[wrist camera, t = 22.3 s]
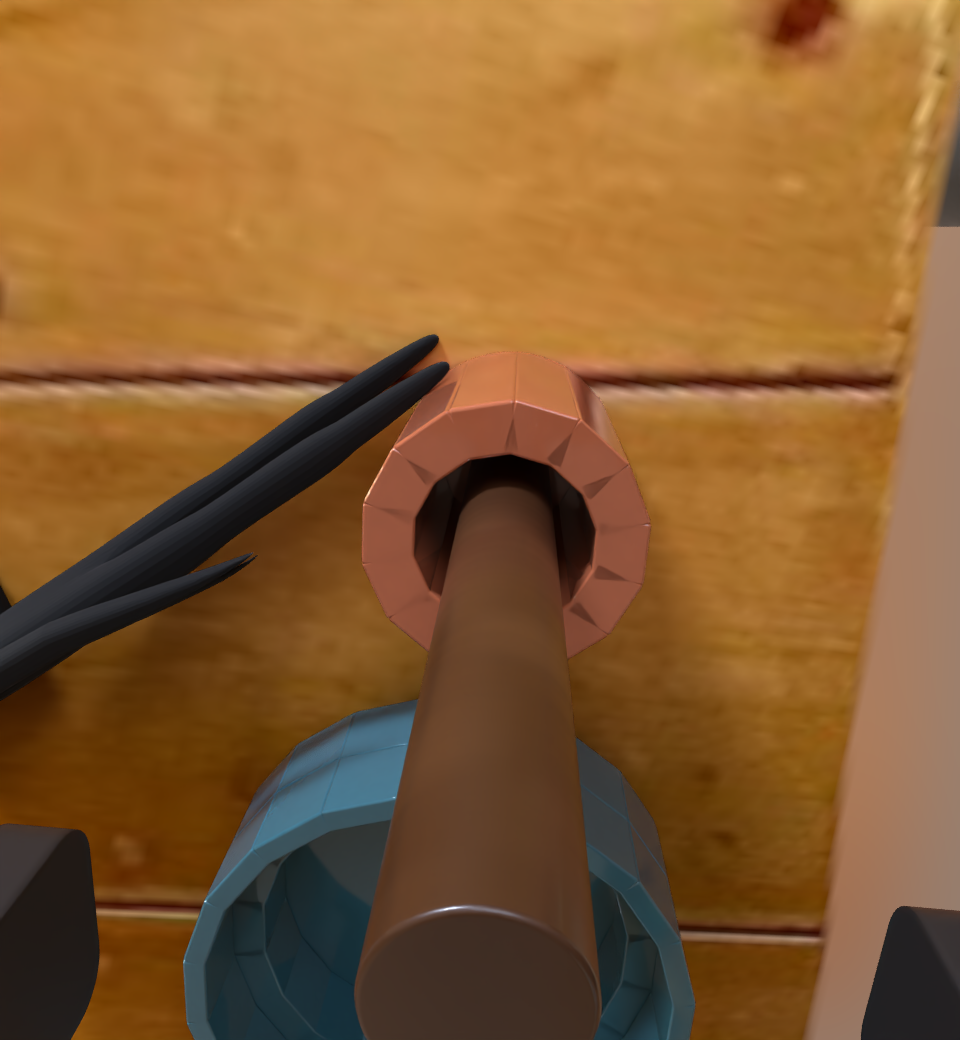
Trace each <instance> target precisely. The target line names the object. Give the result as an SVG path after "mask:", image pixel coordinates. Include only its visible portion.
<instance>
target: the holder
mask: <svg viewBox="0 0 960 1040" xmlns="http://www.w3.org/2000/svg"><path fill="white" fill-rule="evenodd" d="M504 455H514V456H517V457H520V458H524V459H527V460H530V461H534V462H537V463H541V464H544V465H547V466H548V468H549V478H550V488H551V498H552V508H553V518H554V528H555V538H556V548H557V558H558V568H559V578H560V588H561V598H562V608H563V618H564V628H565V638H566V648H567V658H568V659H570V658H571V657H573V656H575V655H576V654H578V653H580V652H581V651H583V650H585V649H586V648H588V647H590V646H591V645H593V644H595V643H597V642H598V641H600V640H602V639H603V638H605V637H606V636H607V635H608V634H610V633H611V632H612V630H613V629H614V627H615V626H616V625H617V623H618V622H619V620H620V619H621V617H622V616H623V614H624V613H625V611H626V610H627V608H628V607H629V605H630V604H631V602H632V601H633V600H634V598H635V597H636V595H637V594H638V592H639V591H640V589H641V588H642V584H643V583H644V578H645V570H646V562H647V555H648V547H649V539H650V532H651V524H650V518H649V515H648V512H647V509H646V507H645V504H644V501H643V498H642V496H641V493H640V490H639V488H638V485H637V482H636V479H635V477H634V474H633V471H632V468H631V466H630V464H629V461H628V459H627V457H626V455H625V452H624V450H623V448H622V446H621V443H620V441H619V439H618V437H617V434H616V432H615V430H614V428H613V425H612V423H611V421H610V418H609V416H608V414H607V412H606V409H605V407H604V405H603V403H602V401H601V400H600V398H599V397H598V396H597V395H596V394H595V393H594V392H593V391H592V390H591V389H590V387H589V386H588V385H587V384H586V383H585V382H584V381H583V380H582V379H581V378H579V377H578V376H577V375H576V374H574V373H573V372H572V371H571V370H569V369H568V368H567V367H564V366H563V365H561V364H559V363H557V362H555V361H552V360H550V359H547V358H545V357H541V356H538V355H534V354H529V353H522V352H498V353H491V354H486V355H483V356H479V357H475V358H473V359H470V360H468V361H465V362H463V363H461V364H460V365H458V366H456V367H455V368H453V369H451V370H450V371H449V372H448V373H447V374H446V375H445V377H444V378H443V379H442V380H441V381H440V382H439V383H438V384H437V385H436V386H435V387H434V388H433V389H431V390H430V391H429V392H428V393H427V394H426V395H424V396H423V397H422V398H421V400H420V402H419V403H418V405H417V407H416V409H415V410H414V412H413V414H412V415H411V417H410V419H409V420H408V422H407V424H406V425H405V427H404V429H403V430H402V432H401V434H400V435H399V437H398V439H397V441H396V442H395V444H394V446H393V447H392V449H391V451H390V453H389V454H388V456H387V458H386V460H385V462H384V464H383V466H382V467H381V469H380V471H379V473H378V475H377V477H376V478H375V480H374V482H373V484H372V486H371V488H370V489H369V491H368V493H367V495H366V497H365V499H364V504H363V511H362V563H363V564H362V565H363V568H364V570H365V572H366V574H367V576H368V579H369V581H370V583H371V585H372V587H373V589H374V591H375V593H376V595H377V597H378V600H379V602H380V604H381V606H382V608H383V610H384V612H385V614H386V616H387V617H388V618H389V620H390V621H391V622H393V623H394V624H395V625H396V626H397V627H399V628H400V629H401V630H402V631H404V632H405V633H406V634H407V635H408V636H410V637H411V638H412V639H413V640H414V641H416V642H417V643H418V644H419V645H420V646H422V647H423V648H424V649H425V650H427V651H428V652H429V649H430V644H431V640H432V635H433V631H434V626H435V622H436V618H437V613H438V609H439V604H440V600H441V595H442V591H443V586H444V582H445V577H446V573H447V568H448V564H449V559H450V555H451V550H452V546H453V542H454V537H455V533H456V528H457V524H458V519H459V515H460V510H461V506H462V501H463V497H464V492H465V488H466V483H467V479H468V474H469V470H470V466H471V461H472V460H476V459H483V458H490V457H497V456H504Z"/></svg>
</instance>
